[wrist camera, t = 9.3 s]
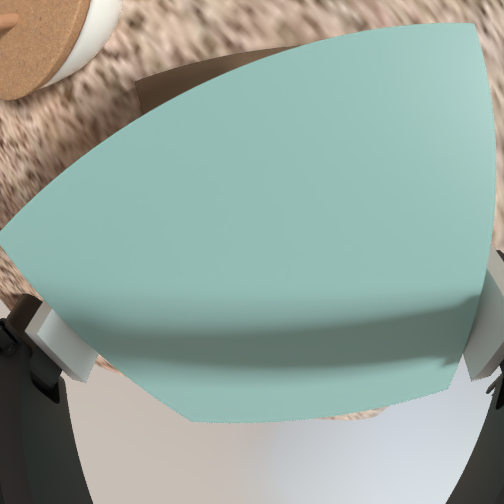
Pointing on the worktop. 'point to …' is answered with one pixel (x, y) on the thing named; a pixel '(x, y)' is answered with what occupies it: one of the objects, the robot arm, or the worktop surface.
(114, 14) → the lidded jar
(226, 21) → the worktop surface
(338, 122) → the teal brick
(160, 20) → the worktop surface
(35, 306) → the water bottle
